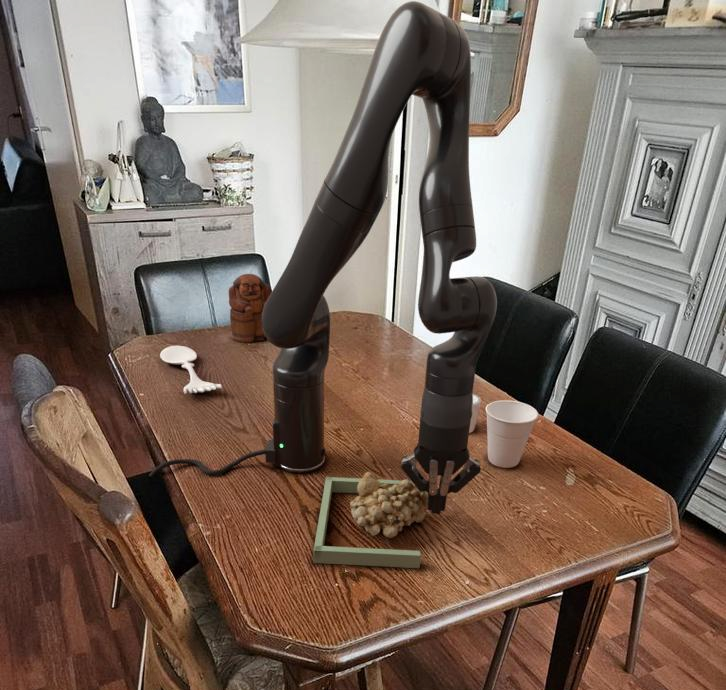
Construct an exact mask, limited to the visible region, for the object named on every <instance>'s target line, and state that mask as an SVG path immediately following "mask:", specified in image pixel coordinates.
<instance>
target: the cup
mask: <svg viewBox="0 0 726 690" xmlns="http://www.w3.org/2000/svg"><path fill="white" fill-rule="evenodd" d="M485 412H486V431H487V432H486V436H487V460H488V462H490V464H492V465H493V466H496V467H498V468H503V469H510V468H514V467H516V466H517V465H518V464H519V463H520V461H521V458H522V456H523V453H524V451H525V448H526V446H527V444H528V440H529V438H530V436H531V433H532V431H533V428H534V426H535V423H536V421H537V420H538V418H539V412H538V410H537V409H536V408H534V407H533V406H531V405H530V404H528V403H525V402H522V401H516V400H507V399H505V400H503V399H501V400H495V401H492V402H490V403H488V404H487V405H486V406H485Z"/></svg>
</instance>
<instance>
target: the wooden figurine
mask: <svg viewBox="0 0 726 690" xmlns="http://www.w3.org/2000/svg"><path fill="white" fill-rule="evenodd" d="M272 291H273V289H272V286H270V284H268V283H265V281H264V280H263V279H262V278H261V277H260V276H259V275H256V274H254V273H244V274H241V275H239V276H238V277H236V278H235V280H233V282H232V285H231V286H230V287H229V289H228V304H229V307H230V309H229V319H230V329H231V333H232V338H233V340H234V341H235V340H236V341H237V342H242V343H254V342H260V341H265V340H268V339H267V338H266V336H265V334H264V331H263V327H262V311H263V308H264V305H265V303H266V301H267V299H268V298H269V296H270V294H271V292H272Z"/></svg>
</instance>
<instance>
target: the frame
mask: <svg viewBox="0 0 726 690" xmlns="http://www.w3.org/2000/svg"><path fill="white" fill-rule="evenodd" d="M361 479H362V478H357V477H333V476H326V477H325V480H324V487H323V493H322V498H321V503H320V511H319V515H318V521H317V528H316V533H315V539H314V546H313V564H327V565H329V564H330V565H348V566H363V567H367V566H368V567H385V568H386V567H387V568H406V569H407V568H408V569H420V566H421V556H422V555H421V554H422V553H421V550H411V549H410V550H409V549H391V548H389V549H388V548H373V547H372V548H371V547H370V548H369V547H351V546H350V547H349V546H334V545H333V546H329V545H325V542H326V535H327V528H328V522H329V516H330V509H331V501H332V497H333V495H332V494H333V493H343V494H359V493H358V491H357V486H358V484H359V482H360V480H361ZM377 481H379V482H381V483H382V484H388V485H389V486H390V487H392V486H393V485H395V484H396V485H399V484H401V482H402V480H399V479H397V480H396V479H378V478H377ZM410 482H412V481H411V480H410Z"/></svg>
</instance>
